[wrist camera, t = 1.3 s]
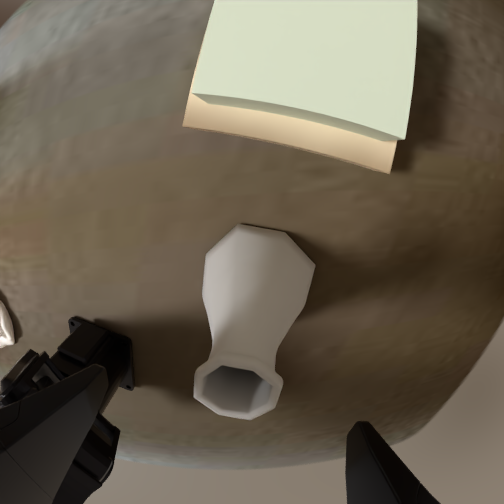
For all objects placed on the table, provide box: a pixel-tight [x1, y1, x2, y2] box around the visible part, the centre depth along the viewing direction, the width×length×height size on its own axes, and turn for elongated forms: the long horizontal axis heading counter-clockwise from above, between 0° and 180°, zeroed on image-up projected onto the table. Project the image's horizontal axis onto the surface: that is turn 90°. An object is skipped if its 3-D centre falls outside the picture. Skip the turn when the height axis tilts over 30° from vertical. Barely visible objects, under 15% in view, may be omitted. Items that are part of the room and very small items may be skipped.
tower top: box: [191, 0, 417, 141], centre depth 10 cm, size 9×9×3 cm
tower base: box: [183, 25, 397, 174], centre depth 13 cm, size 11×11×3 cm
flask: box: [194, 224, 315, 420], centre depth 14 cm, size 7×7×10 cm
